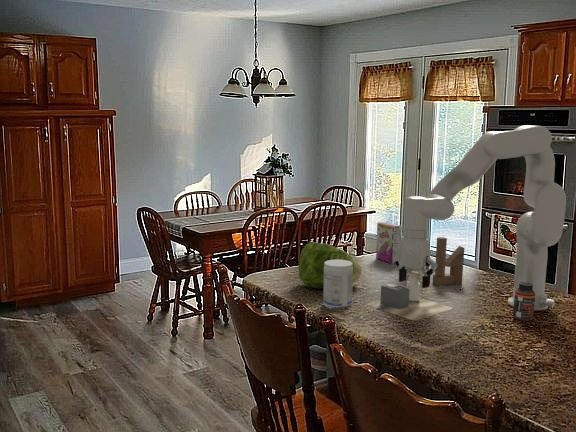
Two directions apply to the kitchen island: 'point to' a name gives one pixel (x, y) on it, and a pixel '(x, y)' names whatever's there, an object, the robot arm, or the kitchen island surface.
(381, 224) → the candy bar box
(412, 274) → the pepper shaker
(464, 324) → the kitchen island surface
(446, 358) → the kitchen island surface
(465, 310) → the kitchen island surface
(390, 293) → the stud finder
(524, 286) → the supplement bottle
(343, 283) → the supplement tub
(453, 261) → the wooden letter
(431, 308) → the plywood panel
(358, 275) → the lettuce
